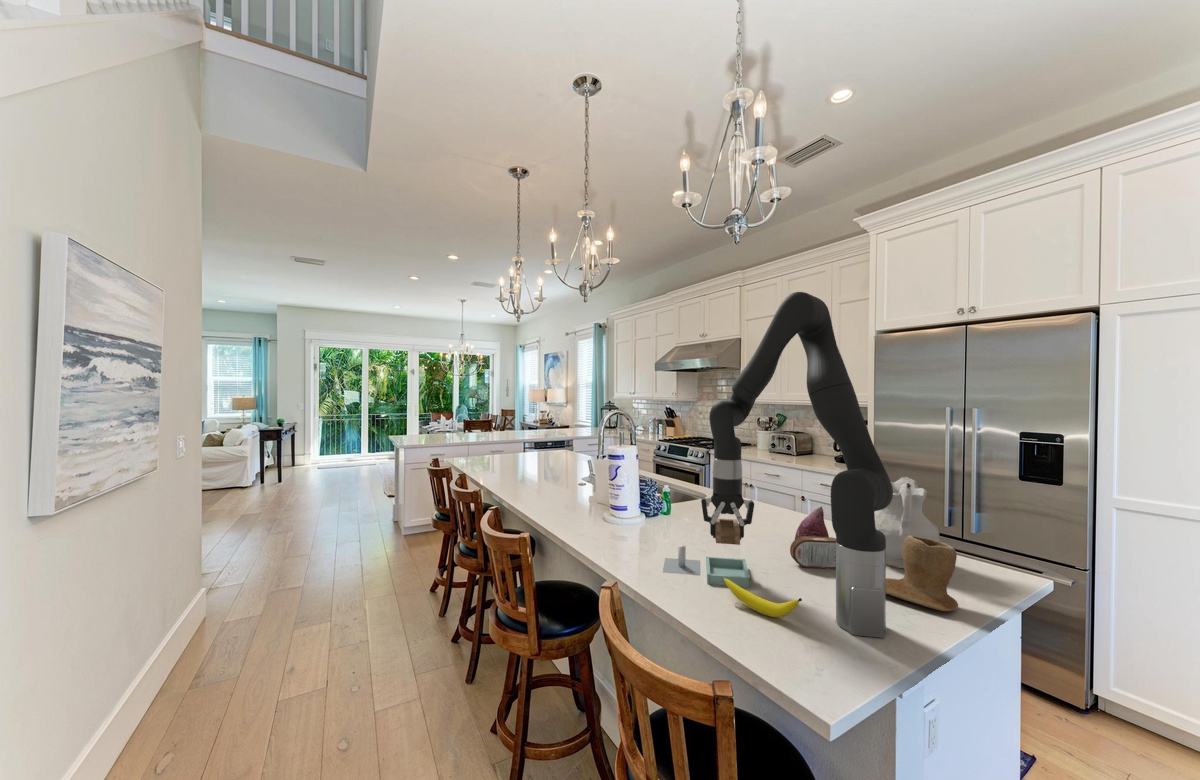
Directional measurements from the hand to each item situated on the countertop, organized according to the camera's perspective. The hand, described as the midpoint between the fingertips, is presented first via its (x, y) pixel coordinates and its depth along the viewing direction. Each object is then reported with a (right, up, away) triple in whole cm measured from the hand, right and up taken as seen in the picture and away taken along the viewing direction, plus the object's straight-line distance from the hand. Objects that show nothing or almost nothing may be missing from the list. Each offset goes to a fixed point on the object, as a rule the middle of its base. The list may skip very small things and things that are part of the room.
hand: (727, 538), depth 125 cm
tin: (+28, -11, +7) cm, 31 cm away
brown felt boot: (+42, -11, -14) cm, 46 cm away
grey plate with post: (-11, -10, +6) cm, 16 cm away
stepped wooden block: (0, 0, 0) cm, 0 cm away
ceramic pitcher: (+53, -11, +10) cm, 55 cm away
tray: (0, -10, 0) cm, 10 cm away
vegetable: (+33, -11, +24) cm, 42 cm away
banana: (+2, -11, -20) cm, 23 cm away
